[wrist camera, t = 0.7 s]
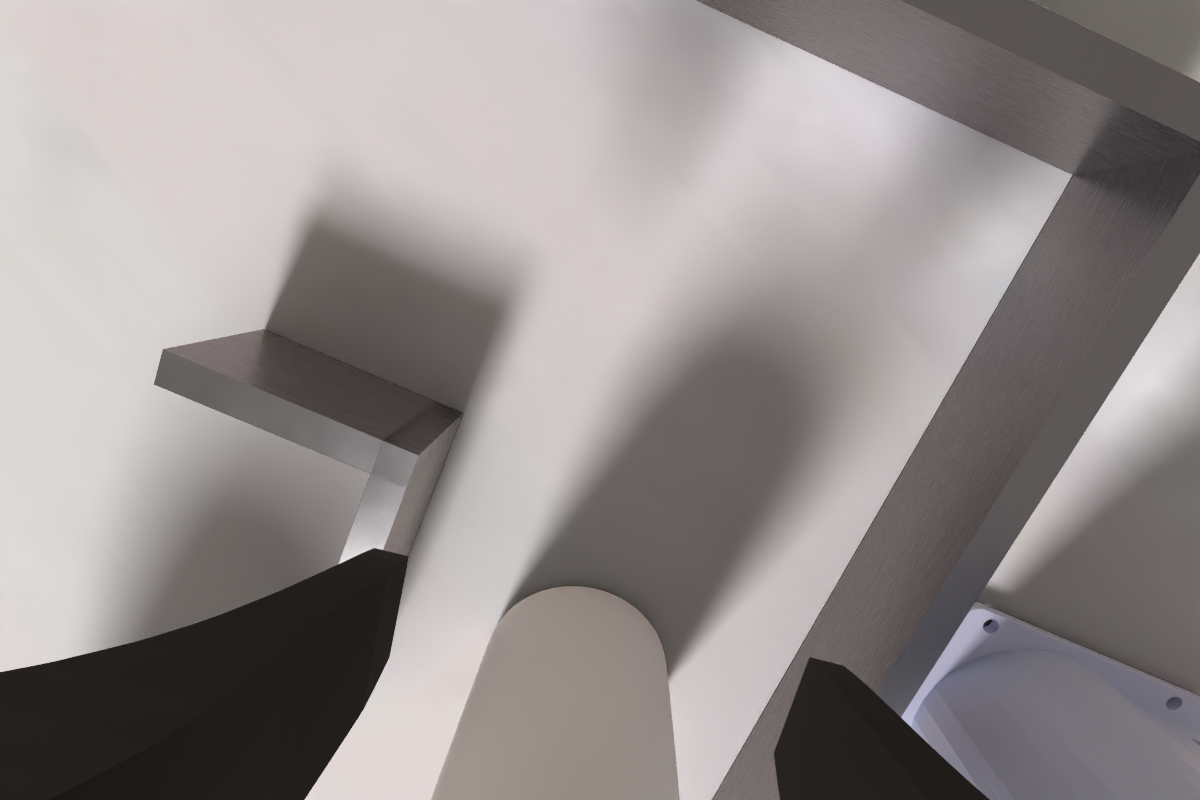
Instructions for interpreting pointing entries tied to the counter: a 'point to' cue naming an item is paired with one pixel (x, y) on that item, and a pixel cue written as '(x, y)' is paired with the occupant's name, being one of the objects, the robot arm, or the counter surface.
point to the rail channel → (982, 388)
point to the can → (566, 707)
